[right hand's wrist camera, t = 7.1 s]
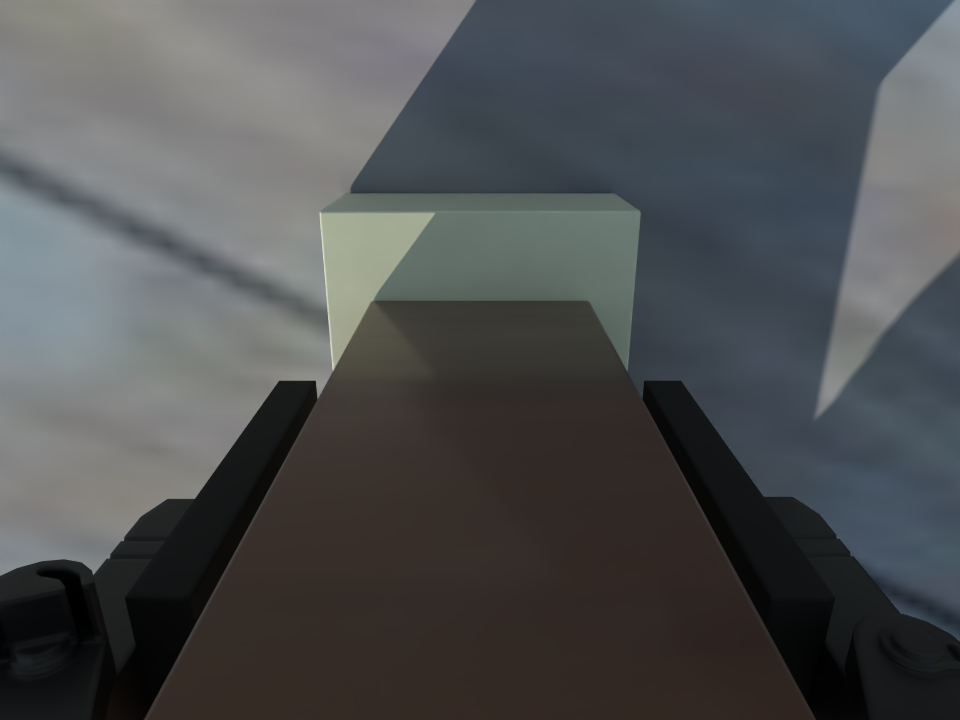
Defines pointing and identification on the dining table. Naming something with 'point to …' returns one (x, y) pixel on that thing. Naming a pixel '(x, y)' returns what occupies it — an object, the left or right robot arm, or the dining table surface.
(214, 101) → the dining table surface
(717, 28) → the dining table surface
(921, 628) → the right robot arm
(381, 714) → the walnut block
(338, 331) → the pale green l-shaped block
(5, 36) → the dining table surface
